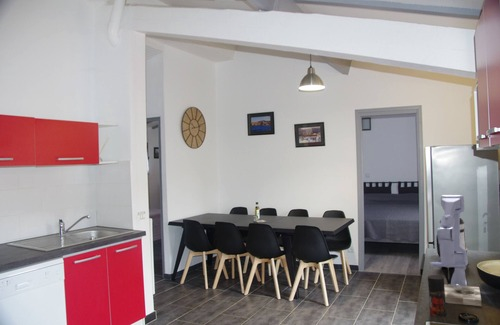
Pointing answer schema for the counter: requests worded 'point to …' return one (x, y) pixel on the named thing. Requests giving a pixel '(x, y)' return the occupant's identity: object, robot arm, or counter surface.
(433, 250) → the counter surface
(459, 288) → the ball
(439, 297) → the spice jar
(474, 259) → the counter surface
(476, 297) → the block
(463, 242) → the coffee press
